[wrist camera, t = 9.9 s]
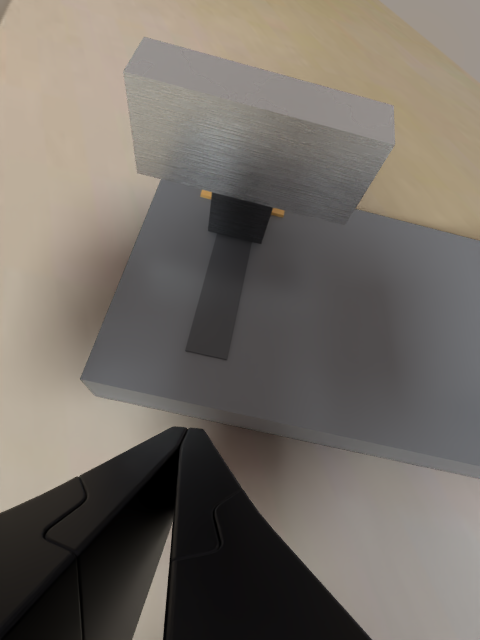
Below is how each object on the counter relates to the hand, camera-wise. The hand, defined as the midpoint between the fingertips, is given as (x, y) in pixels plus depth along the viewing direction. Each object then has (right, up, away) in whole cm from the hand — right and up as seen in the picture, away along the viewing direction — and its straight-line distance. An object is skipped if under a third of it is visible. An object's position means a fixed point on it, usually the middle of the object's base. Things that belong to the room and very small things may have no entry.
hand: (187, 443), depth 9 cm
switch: (+1, +9, +11) cm, 14 cm away
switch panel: (+10, +2, +12) cm, 16 cm away
